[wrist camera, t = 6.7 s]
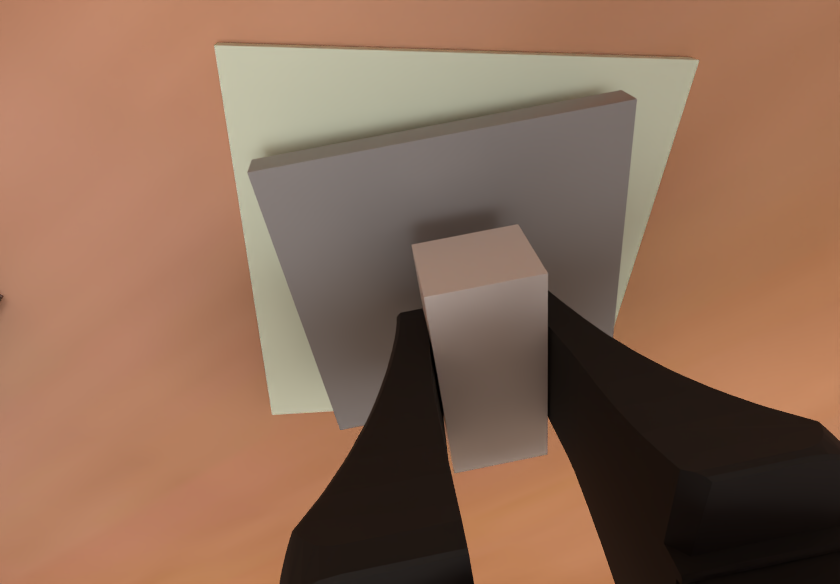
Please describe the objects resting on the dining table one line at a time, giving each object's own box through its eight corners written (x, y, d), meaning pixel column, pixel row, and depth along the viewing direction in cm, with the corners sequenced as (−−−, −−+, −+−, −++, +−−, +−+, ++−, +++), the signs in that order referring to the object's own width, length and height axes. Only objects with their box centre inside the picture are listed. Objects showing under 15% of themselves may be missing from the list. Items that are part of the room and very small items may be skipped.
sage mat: (690, 57, 14) (699, 59, 13) (587, 388, 20) (592, 395, 20) (217, 42, 12) (213, 45, 12) (273, 406, 19) (272, 414, 18)
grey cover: (621, 89, 13) (734, 155, 9) (599, 359, 18) (665, 468, 14) (251, 159, 12) (217, 255, 9) (340, 411, 18) (341, 535, 14)
